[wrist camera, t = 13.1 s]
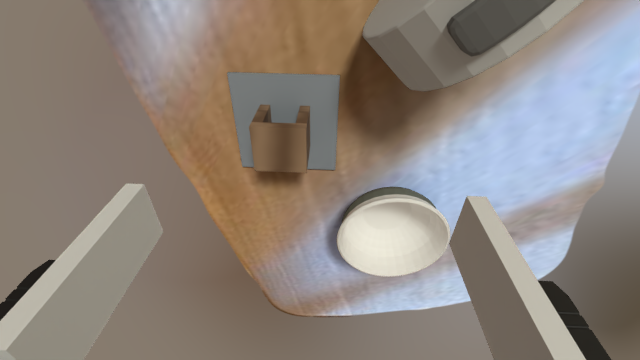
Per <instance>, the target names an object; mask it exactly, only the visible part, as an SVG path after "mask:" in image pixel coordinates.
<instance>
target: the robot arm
mask: <svg viewBox="0 0 640 360" xmlns="http://www.w3.org/2000/svg"><path fill="white" fill-rule="evenodd" d="M162 233H163V229H162V227H161V224H160V222H159V219H158V217H157V215H156V212H155V209H154V207H153V205H152V202H151V200H150V197H149V195H148V192H147V190H146V187H145V185H144V184H125V185H124V186H123V188H122V189H121V190H120V191H119V192H118V193H117V194H116V195H115V196H114V197H113V199H112V200H111V201H110V202H109V203H108V204H107V205H106V206H105V207H104V208H103V209H102V210H101V212H100V213H99V214H98V215H97V216H96V217H95V218H94V219H93V220H92V221H91V223H90V224H89V225H88V226H87V227H86V228H85V229H84V230H83V231H82V232H81V233H80V234H79V236H78V237H77V238H76V239H75V240H74V241H73V242H72V243H71V244H70V246H69V247H68V248H67V249H66V250H65V251H64V252H63V253H62V254H61V255H60V256H59V257H58V259H57V260H48V261H47V262H45V263H44V264H42V265H41V266H39V267H38V268H37V269H35V270H33V271H32V272H31V273H30V274H29V275H28V276H27V277H26V278H25V279H24V280H23V281H22V282H21V283H20V284H19V285H18V286H17V289H16V290H13V292H12V293H11V294H10V295H9V296H8V297H7V298H6V301H5V302H2V303H1V304H0V360H84V358H85V357H86V355H87V354H88V352H89V350H90V349H91V347H92V345H93V344H94V342H95V341H96V339H97V337H98V336H99V334H100V333H101V331H102V329H103V328H104V326H105V325H106V323H107V321H108V320H109V318H110V317H111V315H112V313H113V312H114V310H115V308H116V307H117V305H118V304H119V302H120V301H121V299H122V297H123V296H124V294H125V293H126V291H127V289H128V288H129V286H130V285H131V283H132V281H133V280H134V278H135V277H136V275H137V273H138V272H139V270H140V269H141V267H142V265H143V264H144V262H145V260H146V259H147V257H148V256H149V254H150V252H151V251H152V249H153V248H154V246H155V244H156V243H157V241H158V240H159V238H160V236H161V235H162ZM449 244H450V247H451V249H452V252H453V255H454V257H455V260H456V262H457V265H458V268H459V270H460V273H461V275H462V278H463V281H464V283H465V286H466V288H467V291H468V294H469V296H470V299H471V301H472V304H473V306H474V309H475V312H476V314H477V317H478V319H479V322H480V325H481V327H482V330H483V332H484V335H485V337H486V340H487V343H488V345H489V348H490V351H491V353H492V356H493V358H494V360H611V359H610V357H609V356H608V354H607V353H606V351H605V350H604V348H603V347H602V345H601V344H600V342H599V341H598V339H597V338H596V336H595V335H594V333H593V332H592V330H590V329H589V328H588V324H587V323H586V321H585V320H584V318H583V317H582V316H580V315H579V311H578V310H577V308H576V307H575V305H574V304H573V302H572V301H571V299H570V298H569V296H568V295H567V294H566V293H564V292H563V291H562V290H561V289H560V288H559V287H558V286H557V285H556V284H554V283H553V282H551V281H538V280H537V279H536V277H535V275H534V274H533V272H532V271H531V269H530V267H529V266H528V264H527V262H526V261H525V259H524V258H523V256H522V254H521V253H520V251H519V249H518V248H517V246H516V244H515V243H514V241H513V240H512V238H511V236H510V235H509V233H508V231H507V230H506V228H505V226H504V225H503V223H502V222H501V220H500V218H499V217H498V215H497V213H496V212H495V210H494V209H493V207H492V205H491V204H490V202H489V200H488V199H487V197H477V196H467V197H466V200H465V203H464V205H463V208H462V211H461V213H460V216H459V219H458V221H457V224H456V227H455V229H454V232H453V235H452V237H451V240H450V243H449Z"/></svg>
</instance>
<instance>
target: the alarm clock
mask: <svg viewBox="0 0 640 360" xmlns="http://www.w3.org/2000/svg"><path fill="white" fill-rule="evenodd" d="M583 1H584V0H379V2H378V3H377V5H376V6H375V8H374V9H373V11H372V12H371V14H370V15H369V17H368V19H367V21H366V23H365V26H364V28H363V38H364V39H365V40H366V41H367V42H368V43H369V44H370V46H371V47H372V48H373V49H374V50H375V51H376V52H377V54H378V55H379V56H380V57H381V58H382V59H383V61H384V62H385V63H386V64H387V65H388V66H389V67H390V69H391V70H392V71H393V72H394V73H395V74H396V75H397V77H398V78H399V79H400V80H401V81H402V82H403V83H404V84H405V85H406V86H407V87H408V88H409V89H410V90H417V91H430V90H435V89H440V88H446V87H448V86H451V85H453V84H456V83H459V82H461V81H464V80H466V79H469V78H472V77H474V76H476V75H478V74H480V73H482V72H483V71H485V70H487V69H489V68H491V67H493V66H494V65H496V64H498V63H500V62H502V61H504V60H506V59H507V58H509V57H511V56H512V55H514V54H515V53H517V52H518V51H519V50H521V49H522V48H524V47H525V46H527V45H528V44H530V43H531V42H533V41H534V40H536V39H537V38H539V37H540V36H542V35H543V34H544V33H546V32H547V31H548V30H550V29H551V28H552V27H553V26H554V25H556V24H557V23H558V22H559V21H560V20H562V19H563V18H564V17H565V16H566V15H568V14H569V13H570V12H571V11H572V10H574V9H575V8H576V7H577V6H578V5H579V4H581V3H582V2H583Z"/></svg>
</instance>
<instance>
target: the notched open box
mask: <svg viewBox="0 0 640 360" xmlns="http://www.w3.org/2000/svg"><path fill="white" fill-rule="evenodd" d="M249 131H250V139H251V146H252V154H253V161H254V168H255V171H271V172H299V173H307V167H308V160H309V152H310V106H300V108H299V112H298V116H297V120H296V123H272V120H271V108H270V105H262V104H260V106H259V108H258V110H257V112H256V114H255V116H254V118H253V120H252V122H251V124H250V126H249Z"/></svg>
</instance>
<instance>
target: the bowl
mask: <svg viewBox="0 0 640 360" xmlns="http://www.w3.org/2000/svg"><path fill="white" fill-rule="evenodd" d="M449 239H450V229H449V225H448V222H447V220H446V218H445V217H444V216H443V215H442V214H441V213H440V212H439V211H438V210H437V209H436V207H435V206H434V205H433V204H432V202H431V201H430V200H429V199H427V198H426V197H424V196H423V195H421V194H419V193H417V192H415V191H412V190H410V189H406V188H402V187H384V188H379V189H375V190H372V191H370V192H367V193H365V194H364V195H362V196H360V197H359V198H358V199H357V200H356V201H354V202H353V203H352V204H351V206H350V207H349V208H348V210H347V211H346V212H345V214H344V217H343V219H342V225H341V226H340V229H339V231H338V233H337V247H338V250H339V252H340V254H341V256H342V257H343V258H344V260H345V261H346V262H347V263H348V264H350V265H351V266H352V267H354V268H355V269H357V270H359V271H361V272H364V273H367V274H371V275H376V276H385V277H391V276H402V275H407V274H411V273H414V272H417V271H420V270H422V269H424V268H426V267H428V266H429V265H431V264H432V263H434V262H435V261H436V260H437V259H438V258H439V257H441V255H442V254H443V253H444V251H445V250H446V248H447V245H448V243H449Z"/></svg>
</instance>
